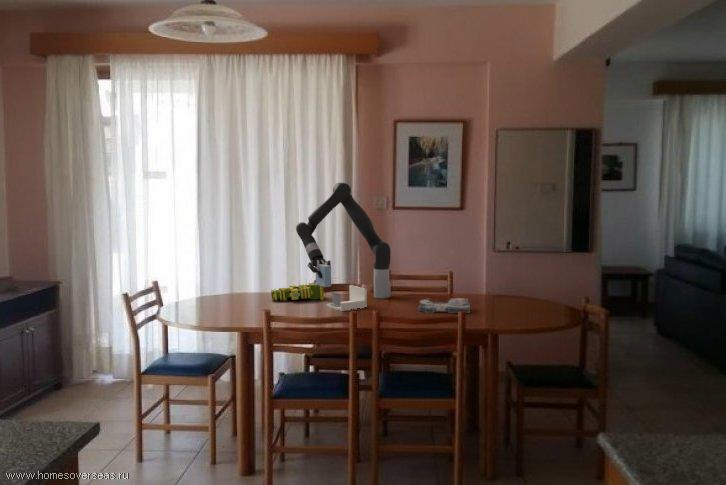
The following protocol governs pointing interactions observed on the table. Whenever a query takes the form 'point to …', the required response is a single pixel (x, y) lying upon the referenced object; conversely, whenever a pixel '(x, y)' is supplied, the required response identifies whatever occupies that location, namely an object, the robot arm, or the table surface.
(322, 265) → the light blue rectangular block
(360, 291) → the white open holder
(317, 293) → the toy
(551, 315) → the table surface
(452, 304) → the futuristic firearm
